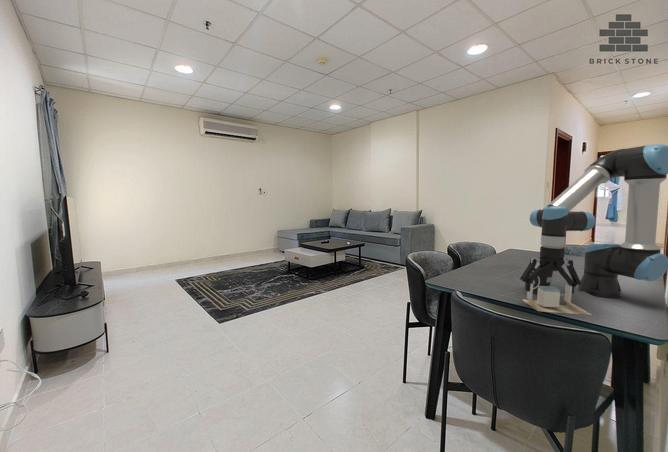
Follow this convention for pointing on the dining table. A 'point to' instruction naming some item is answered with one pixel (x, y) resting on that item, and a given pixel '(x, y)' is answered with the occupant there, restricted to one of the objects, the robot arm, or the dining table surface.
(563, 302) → the post short
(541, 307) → the board
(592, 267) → the robot arm
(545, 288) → the white and green block
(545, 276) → the coffee cup
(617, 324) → the dining table surface
